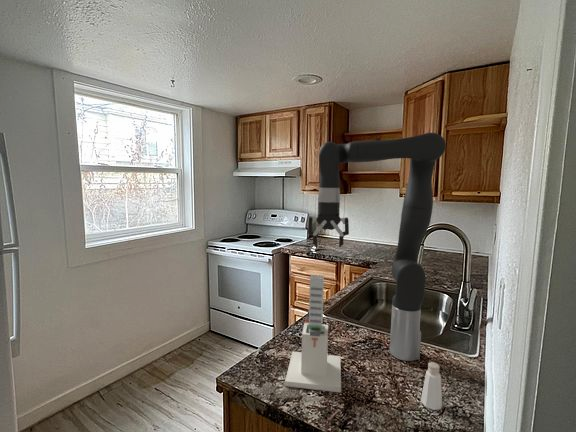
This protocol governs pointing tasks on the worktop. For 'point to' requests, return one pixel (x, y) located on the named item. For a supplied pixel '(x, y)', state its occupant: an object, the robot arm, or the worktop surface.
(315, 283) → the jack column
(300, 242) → the worktop surface
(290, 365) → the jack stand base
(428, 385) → the pepper shaker
